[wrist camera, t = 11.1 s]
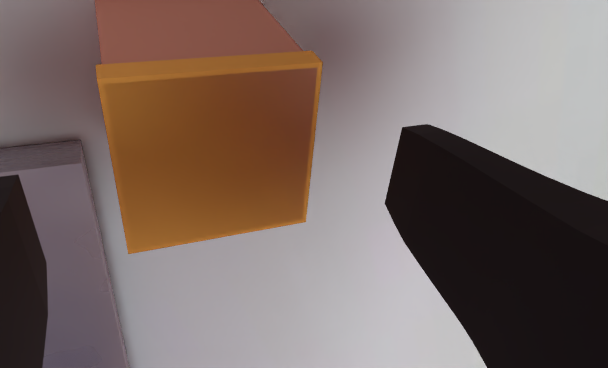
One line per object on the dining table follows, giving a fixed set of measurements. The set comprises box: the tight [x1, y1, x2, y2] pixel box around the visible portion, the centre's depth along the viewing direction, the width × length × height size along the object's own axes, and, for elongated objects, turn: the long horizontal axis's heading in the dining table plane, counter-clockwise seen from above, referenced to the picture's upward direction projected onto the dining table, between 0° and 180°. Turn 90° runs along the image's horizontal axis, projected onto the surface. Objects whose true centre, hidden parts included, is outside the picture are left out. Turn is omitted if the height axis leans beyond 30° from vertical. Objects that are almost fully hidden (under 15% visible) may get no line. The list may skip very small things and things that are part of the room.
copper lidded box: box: [95, 0, 323, 254], centre depth 12 cm, size 4×4×5 cm
